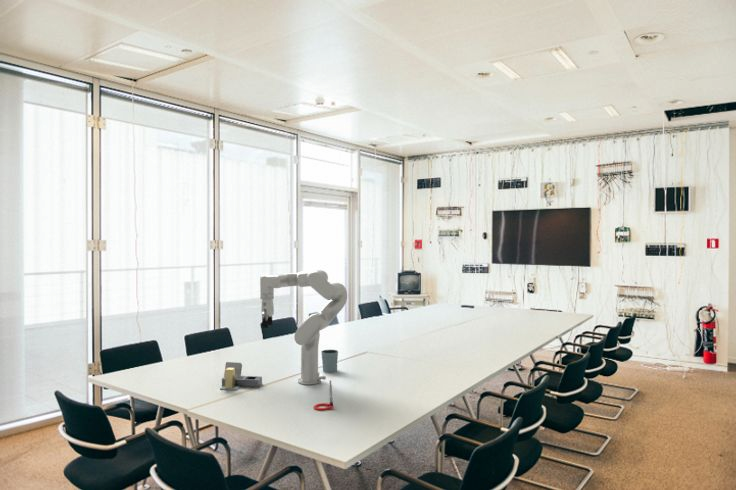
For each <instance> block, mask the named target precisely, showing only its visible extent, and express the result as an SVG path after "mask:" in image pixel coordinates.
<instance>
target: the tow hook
mask: <svg viewBox="0 0 736 490" xmlns="http://www.w3.org/2000/svg"><path fill="white" fill-rule="evenodd" d="M328 387H329V389H328V390H329V402H327V403H325V402H322V403H316V404H314V405H313V409H314V410H315V411H327V410H331V411H333V409H334V399H333V385H332V380H329V386H328ZM323 406H325V407H323Z"/></svg>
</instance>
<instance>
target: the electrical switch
mask: <svg viewBox="0 0 736 490" xmlns="http://www.w3.org/2000/svg"><path fill="white" fill-rule="evenodd" d="M224 366H225V367H224V368H225V369H227V368H235V376H242V369H243V364H242V363H241V362H236V361H235V362H234V361H226V362H225V365H224ZM225 369H224V370H225ZM224 377H225V372H224V374H223V378H224Z"/></svg>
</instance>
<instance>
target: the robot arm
mask: <svg viewBox="0 0 736 490" xmlns="http://www.w3.org/2000/svg"><path fill="white" fill-rule="evenodd" d="M259 279H260V280H259V281H260V282H259V285H260V287H259V289H260V290H259V291H260V294H259V295H260V300H261V309H260V310H261V327H262V328H263V329H264V328H266V329H267V328H269V326H270V325H271V326H272V325H273V315H274V314H275V310H274V297H275V289H280V288H287V287H300V288H307V287H311V288H312V289H313V291H315V292H316V293H318V294H319V295H320V296H321V297H322V298H324V299H325V300H328V301H327V302H326V303H325V305H323V307H322V308H321V309H320V310H319V311H318V312H314V313H312V314H310V315H309V316H308V317H307V318H306V319H305V320H304V321H303V323H301V325H300V326H299V327H298V328H297V329H296V331H295V333H294V337H293V338H294V341H295V342H296V344H297V345H299V346H301V347H300V348H301V349H300V378H299V379H298V380H297V382H298V383H299V384H301V385H311V386H312V385H317V384H319V383H321V382H322V380H327V379H326V378H327V377H326V375H323V374H320V372H319V346H320V345H319V344H320V342H319V341H320V335H321V334H320V331H323V330H324V329H326V328H327V327H328V326H329V325H330V324H331V322H333V320H334V319H335V317H336V316H337V315H338V314H339V313H340V312H341V311H342V310H343V308H344V307H345V306H346V303H347V301H348V291H347V288H346V287H345V285H344V284H343V283H340V282H334V283H331V282H329V281H328V280H329V276H328V274H327V272H326V271H325V270H321V269H319V270H308V271H307V270H306V271H298V272H293V273H282V274H275V275H272V274H262V275H261V276H260V278H259Z"/></svg>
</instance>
